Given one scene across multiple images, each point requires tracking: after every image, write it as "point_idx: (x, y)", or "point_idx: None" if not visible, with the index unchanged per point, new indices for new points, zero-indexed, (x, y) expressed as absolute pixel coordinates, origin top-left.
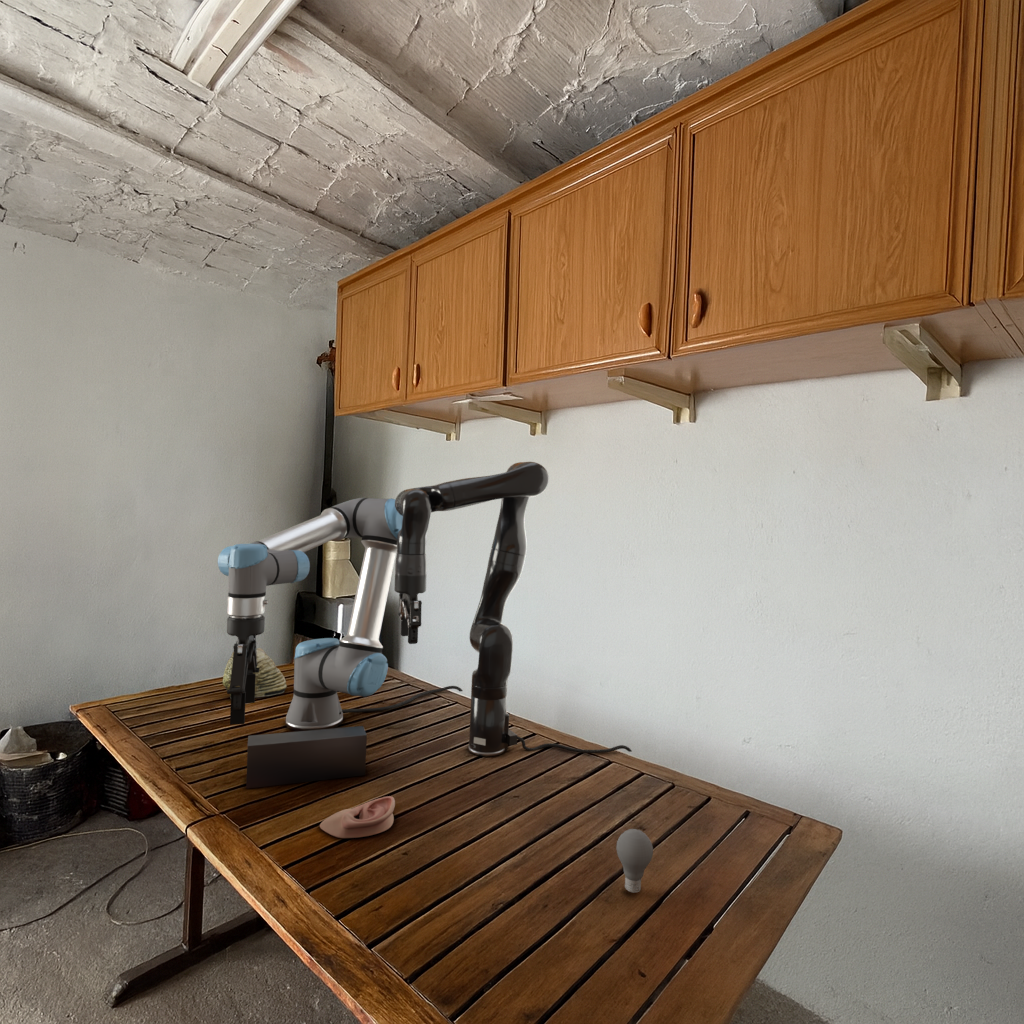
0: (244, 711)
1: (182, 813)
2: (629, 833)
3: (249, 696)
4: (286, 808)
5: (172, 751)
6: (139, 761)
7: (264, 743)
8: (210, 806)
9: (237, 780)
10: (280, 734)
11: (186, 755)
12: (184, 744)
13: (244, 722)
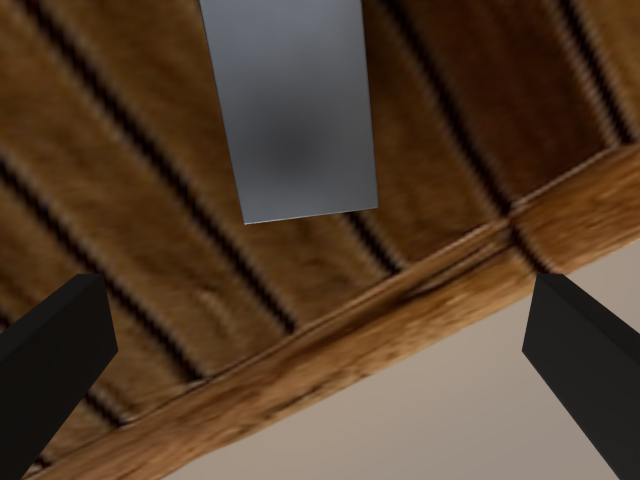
0: (619, 320)
1: (477, 308)
2: None
3: (83, 332)
4: (539, 8)
5: None
6: (141, 467)
7: (360, 131)
8: (455, 249)
9: None
10: (234, 58)
11: None
12: None
13: (546, 275)
